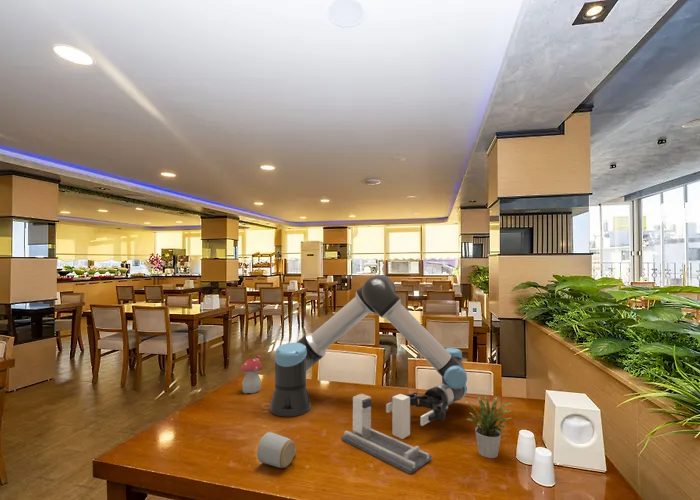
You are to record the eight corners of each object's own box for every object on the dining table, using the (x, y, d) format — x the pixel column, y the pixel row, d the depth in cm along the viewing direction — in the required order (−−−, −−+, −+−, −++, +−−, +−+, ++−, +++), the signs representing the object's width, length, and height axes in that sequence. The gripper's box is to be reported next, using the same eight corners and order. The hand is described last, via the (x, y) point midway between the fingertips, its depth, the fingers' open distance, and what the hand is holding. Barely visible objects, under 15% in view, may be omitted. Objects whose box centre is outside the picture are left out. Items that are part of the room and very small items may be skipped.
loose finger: (390, 434, 117) (390, 396, 118) (398, 430, 120) (398, 393, 121) (402, 439, 114) (402, 400, 114) (410, 434, 117) (410, 396, 117)
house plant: (531, 459, 102) (530, 400, 103) (499, 474, 95) (498, 410, 96) (488, 438, 114) (487, 385, 115) (457, 450, 107) (456, 393, 108)
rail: (341, 439, 113) (341, 397, 114) (363, 429, 120) (363, 389, 121) (410, 474, 95) (410, 423, 95) (431, 459, 102) (431, 412, 102)
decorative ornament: (261, 387, 160) (261, 353, 161) (263, 392, 154) (264, 356, 155) (239, 390, 157) (239, 355, 157) (240, 395, 151) (241, 358, 151)
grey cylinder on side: (281, 474, 95) (282, 444, 95) (255, 467, 98) (256, 438, 98) (302, 455, 104) (303, 428, 105) (278, 449, 108) (279, 423, 108)
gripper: (471, 418, 123) (437, 439, 108) (410, 398, 141) (374, 414, 126) (470, 395, 123) (437, 414, 108) (410, 379, 141) (374, 392, 126)
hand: (403, 414), depth 117 cm, fingers open, 13 cm apart
